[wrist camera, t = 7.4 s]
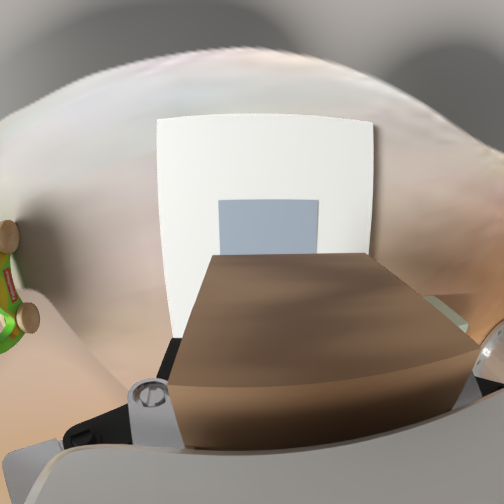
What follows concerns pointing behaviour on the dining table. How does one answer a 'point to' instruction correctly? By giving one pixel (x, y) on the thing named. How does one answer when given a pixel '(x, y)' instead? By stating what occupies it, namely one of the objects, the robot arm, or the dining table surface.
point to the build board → (258, 192)
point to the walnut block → (311, 354)
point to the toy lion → (12, 294)
